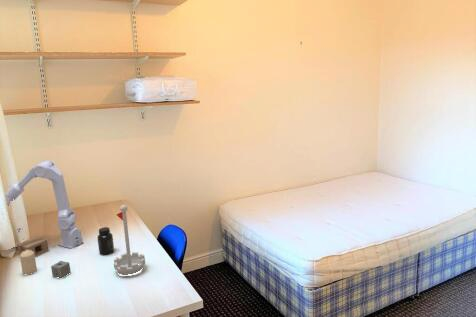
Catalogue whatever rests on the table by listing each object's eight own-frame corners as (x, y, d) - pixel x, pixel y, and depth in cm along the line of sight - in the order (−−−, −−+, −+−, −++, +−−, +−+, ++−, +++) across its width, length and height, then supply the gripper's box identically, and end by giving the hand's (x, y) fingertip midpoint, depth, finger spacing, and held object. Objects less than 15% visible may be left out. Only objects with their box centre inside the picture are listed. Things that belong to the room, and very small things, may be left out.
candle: (21, 276, 161) (17, 254, 159) (24, 269, 166) (21, 249, 164) (35, 273, 162) (31, 252, 160) (38, 267, 168) (34, 247, 165)
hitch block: (49, 250, 184) (47, 239, 183) (29, 259, 175) (27, 247, 174) (38, 247, 188) (36, 236, 186) (19, 256, 179) (17, 244, 178)
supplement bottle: (114, 248, 184) (111, 225, 182) (114, 254, 178) (111, 230, 176) (99, 250, 182) (96, 227, 180) (99, 256, 176) (96, 233, 173)
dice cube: (62, 271, 164) (60, 260, 163) (70, 273, 162) (69, 262, 161) (52, 276, 160) (51, 266, 158) (61, 278, 158) (59, 268, 157)
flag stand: (152, 267, 165) (146, 202, 158) (129, 281, 154) (122, 212, 147) (130, 260, 171) (124, 198, 165) (108, 273, 160) (100, 207, 154)
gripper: (26, 216, 186) (30, 241, 189) (7, 212, 192) (12, 237, 195) (12, 221, 180) (17, 247, 183) (-7, 217, 186) (-2, 243, 189)
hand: (13, 242), depth 189 cm, fingers closed
